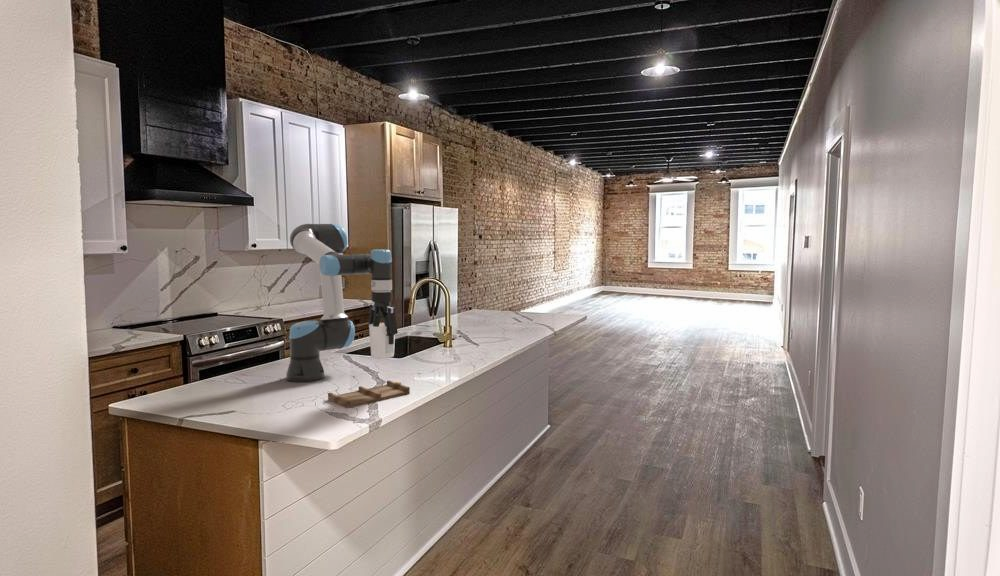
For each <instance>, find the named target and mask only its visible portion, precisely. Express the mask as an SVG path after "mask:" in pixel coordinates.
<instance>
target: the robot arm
mask: <svg viewBox="0 0 1000 576" xmlns="http://www.w3.org/2000/svg"><path fill="white" fill-rule="evenodd" d="M291 231H292V232H291V233H290V236H289V243H290V245H291V247H292V249H293V250H295V252H297V253H300V254H303V255H306V256H307V257H308V258H309V259H311V260H312V261H314V262H315V263H317V264H318V267H319V270H320V271H319V272H320V273H319V274H320V284H321V297H322V307H323V308H322V309H323V310H322V311H323V315H322V317H321V318H320V323H319V321H317V320H305V321H300V322H296V323H294V324H292V325H291V326H290V328H289V335H288V338H289V356H290V357H289V359H290V360H289V363H288V367H287V370H286V373H285V375H286V381H288V382H293V383H305V382H314V381H318V380H321V379H323V378H325V369H324V366H323V364H322V361H321V359H320V358H321V357H320V356H321V355H320V354H321V353H320V352H321V351H322V352H323V351H331V350H338V349H339V350H341V349H344V348H348V347H350V346H351V345H352V344H353V342H354V339H355V335H356V333H355V332H356V330H355V325H354V323H353V321H352V320H350V319H349V316H348V315H347V314H346V313H345V305H344V292H343V281H342V276H347V275H348V276H349V275H350V276H351V275H370V276H371V278H370V280H371V282H370V285H371V292H370V293H371V302H373V303H374V304H373V303H372V304H369V316H368V324H367V329H368V330H369V325H370V324H373V326H374V327H379V324H380V323H381V321H382V320H383V323H384V324H385V327H387V328H386V331H387V335H386V353H393V352H394V353H395V345H394V335H395V336H396V335H397V334H398V327H397V326H398V325H397V319H396V307H394V306H393V307H391V305H390V303H391V302H392V301H393V292H392V290H393V279H392V277H393V276H392V275H393V274H392V272H393V264H392V263H393V258H392V251H391V250H390V249H372V250H371V251H370V254H369V253H360V254H357V253H356V254H344V251H346V249H347V248H348V236H347V232H346V231H345V229H344V228H343V226H341V225H339V224H336V223H335V224H333V223H303V224H300V225H298V226H297V227H295V228H294V229H293V230H291ZM381 319H382V320H381Z"/></svg>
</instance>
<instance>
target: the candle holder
mask: <svg viewBox="0 0 1000 576" xmlns="http://www.w3.org/2000/svg"><path fill="white" fill-rule="evenodd" d="M386 328H387V327H385V324H384V322H380V324H379V327H374V326H373V324H370V325H369V329H368V330H369V332H368V333H369V342H370V343H369V345H370V356H371V358H373V359H390V358H393V357H395V356H394V355H395V351H394V352H393V353H386V335H387V331H386ZM395 339H396V334H395V335H394V346H395V343H396V340H395Z"/></svg>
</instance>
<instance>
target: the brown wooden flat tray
mask: <svg viewBox="0 0 1000 576" xmlns="http://www.w3.org/2000/svg"><path fill="white" fill-rule="evenodd" d="M410 389H411V387H410V386H407V385H404V384H402V382H401V381H391V380H386V384H384V385H377V386H374V387H369V388H368V387H365V386H361V385H360V386H358V390H355V391H350V392H346V393H342V394H336V393H335V394H334V393H332V392H327V400H328V401H330V402H332V403H335V404H337V405H339V406H342V407H344V408H346V409H350V408H354V407H359V406H364V405H368V404H372V403H375V402H380V401H384V400H389V399H393V398H396V397H403V396H405V395H410V393H411V392H410Z"/></svg>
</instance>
